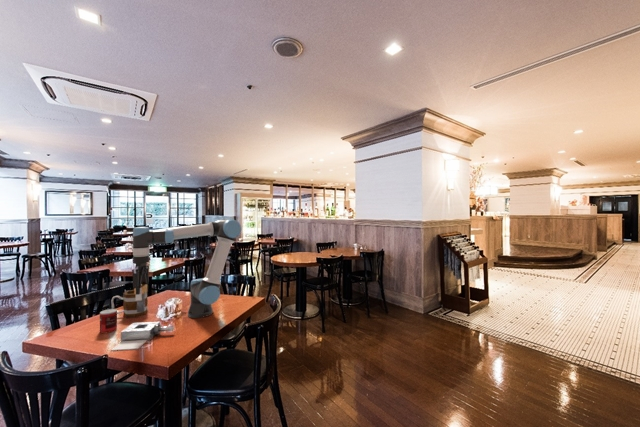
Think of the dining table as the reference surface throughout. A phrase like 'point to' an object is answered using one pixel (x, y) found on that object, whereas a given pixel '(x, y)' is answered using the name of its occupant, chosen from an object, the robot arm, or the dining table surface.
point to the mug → (130, 305)
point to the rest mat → (129, 345)
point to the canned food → (108, 320)
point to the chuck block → (143, 331)
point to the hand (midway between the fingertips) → (141, 298)
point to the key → (142, 302)
